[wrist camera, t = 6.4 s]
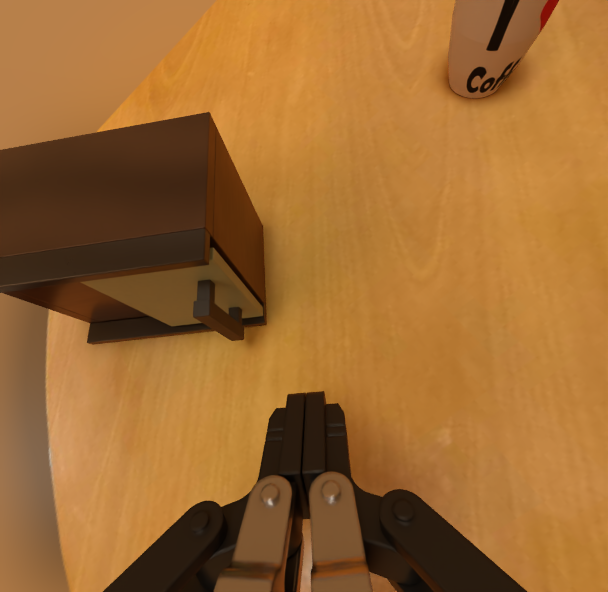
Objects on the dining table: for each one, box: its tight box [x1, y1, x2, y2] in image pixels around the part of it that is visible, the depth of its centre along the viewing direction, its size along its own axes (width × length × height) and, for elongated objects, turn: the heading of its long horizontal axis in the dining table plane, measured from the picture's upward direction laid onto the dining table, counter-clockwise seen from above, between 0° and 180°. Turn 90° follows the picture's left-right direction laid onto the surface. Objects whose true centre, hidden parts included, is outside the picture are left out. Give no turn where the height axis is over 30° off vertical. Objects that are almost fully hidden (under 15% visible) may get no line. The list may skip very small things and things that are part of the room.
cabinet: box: [0, 112, 266, 344], centre depth 24 cm, size 10×16×12 cm, turn 95°
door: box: [81, 248, 263, 341], centre depth 22 cm, size 3×8×10 cm, turn 95°
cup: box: [448, 0, 559, 98], centre depth 28 cm, size 8×8×10 cm
